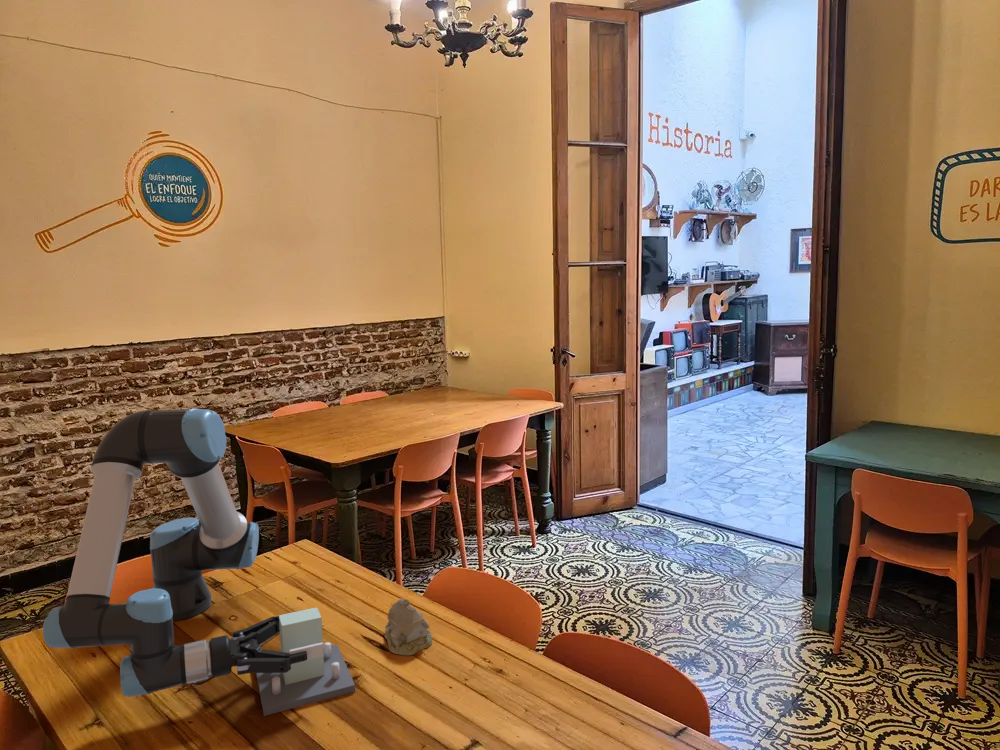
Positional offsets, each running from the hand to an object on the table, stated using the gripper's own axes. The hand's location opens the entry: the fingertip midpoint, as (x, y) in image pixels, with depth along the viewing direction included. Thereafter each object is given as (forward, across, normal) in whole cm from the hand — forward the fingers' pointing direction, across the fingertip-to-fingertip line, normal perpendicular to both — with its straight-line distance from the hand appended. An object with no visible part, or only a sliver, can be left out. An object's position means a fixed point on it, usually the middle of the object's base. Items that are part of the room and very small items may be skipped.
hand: (317, 634), depth 143 cm
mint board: (-3, 0, -8) cm, 9 cm away
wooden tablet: (-16, -20, -10) cm, 28 cm away
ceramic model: (+22, -6, -10) cm, 25 cm away
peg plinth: (-3, 0, -10) cm, 10 cm away
